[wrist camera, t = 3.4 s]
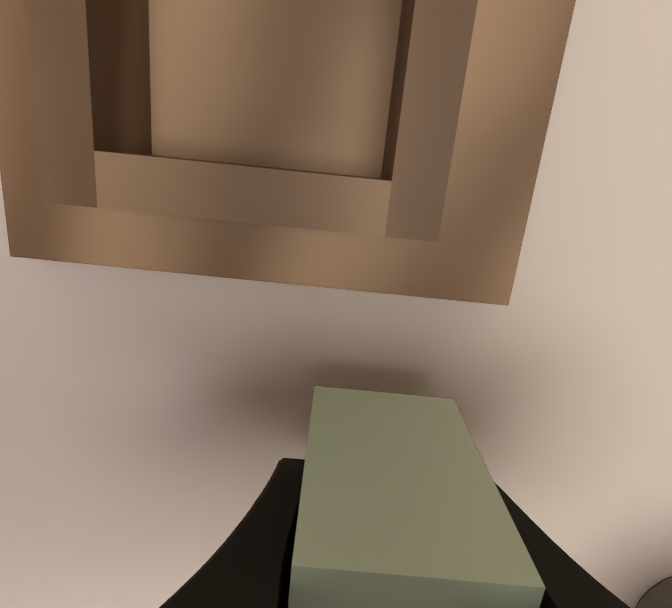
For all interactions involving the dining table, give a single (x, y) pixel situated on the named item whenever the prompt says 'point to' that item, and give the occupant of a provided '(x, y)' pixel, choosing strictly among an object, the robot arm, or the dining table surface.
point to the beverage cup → (658, 596)
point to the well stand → (280, 137)
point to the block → (402, 511)
